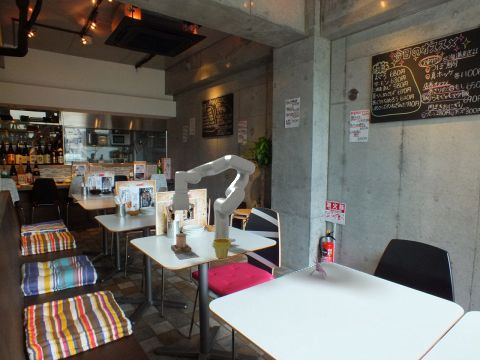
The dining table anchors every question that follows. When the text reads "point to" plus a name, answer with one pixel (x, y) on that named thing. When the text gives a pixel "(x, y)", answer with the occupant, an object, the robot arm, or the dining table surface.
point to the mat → (186, 255)
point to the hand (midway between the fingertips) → (180, 219)
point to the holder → (182, 250)
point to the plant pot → (221, 247)
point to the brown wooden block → (180, 240)
